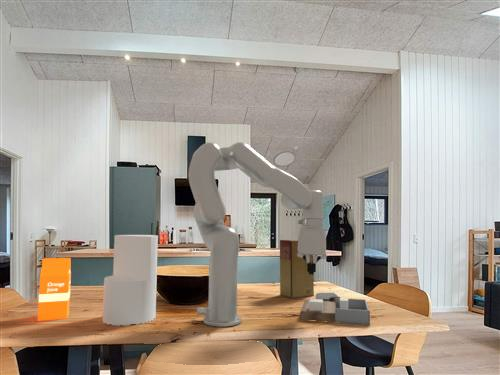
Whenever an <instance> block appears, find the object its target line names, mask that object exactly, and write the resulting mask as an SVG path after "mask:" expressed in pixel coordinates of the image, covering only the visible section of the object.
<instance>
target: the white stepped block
mask: <svg viewBox="0 0 500 375" xmlns="http://www.w3.org/2000/svg"><path fill="white" fill-rule="evenodd" d="M113 240H114V244H113V263H112V264H113V266H112V267H113V269H112V275H109V276H105V277H104V278H103V298H102V323H104V324H105V323H106V324H107V325H109V324H112V325H111V326H120V325H123V326H131V325H130V324H136V325H141V324H140V323H142V324H146V323H149V322H152V321H154V320H155V319H156V317H157V316H156V314H157V312H156V311H157V285H158V284H157V279H158V277H157V276H158V247H159V246H158V244H159V235H156V234H155V235H154V234H116V235H115V234H114V239H113ZM154 318H155V319H154ZM153 319H154V320H153ZM151 320H152V321H151ZM148 321H149V322H148ZM145 322H146V323H145Z"/></svg>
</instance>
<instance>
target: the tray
mask: <svg viewBox="0 0 500 375" xmlns="http://www.w3.org/2000/svg"><path fill="white" fill-rule="evenodd" d="M340 298H341V297H340ZM340 298H336V308H335V322H340V323H339V324H348V323H349V324H350V325H362V324H364V326H371V318H370V317H371V312H370V308H369V305H368V302H367V300H366V299H363V298H362V299H359V298H348V309H340Z"/></svg>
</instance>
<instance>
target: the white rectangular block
mask: <svg viewBox="0 0 500 375" xmlns="http://www.w3.org/2000/svg"><path fill="white" fill-rule="evenodd" d="M309 311H323V300H320V299H317V298H316V299H315V298H309Z"/></svg>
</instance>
